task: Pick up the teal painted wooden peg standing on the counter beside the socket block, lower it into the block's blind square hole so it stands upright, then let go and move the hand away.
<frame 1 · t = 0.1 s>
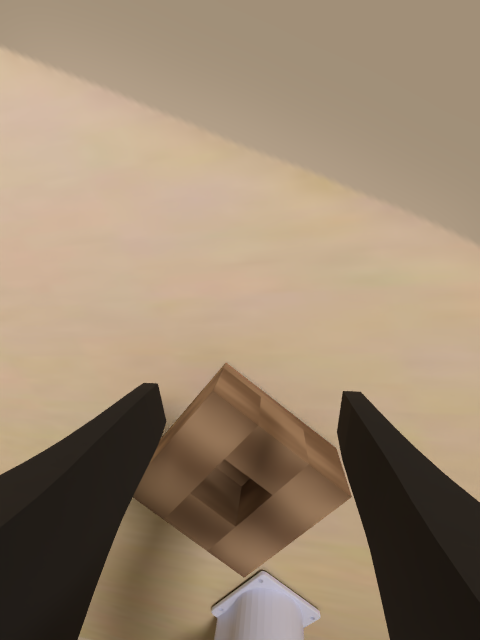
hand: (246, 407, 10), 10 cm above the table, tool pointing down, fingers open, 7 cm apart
socket block: (238, 448, 23), on the table
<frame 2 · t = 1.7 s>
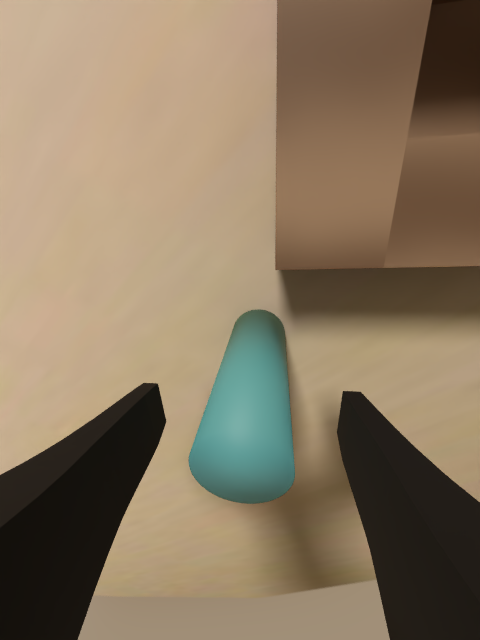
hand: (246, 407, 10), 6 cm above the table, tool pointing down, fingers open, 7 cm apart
peg: (258, 333, 16), on the table
socket block: (425, 96, 10), on the table
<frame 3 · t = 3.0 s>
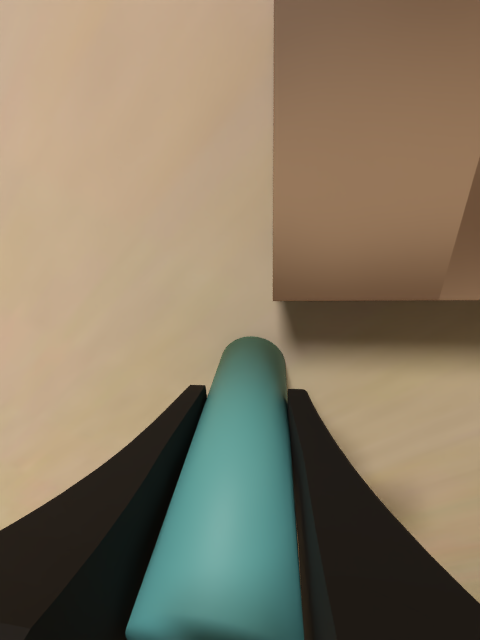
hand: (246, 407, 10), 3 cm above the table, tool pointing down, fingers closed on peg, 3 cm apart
peg: (252, 365, 13), on the table, touching gripper
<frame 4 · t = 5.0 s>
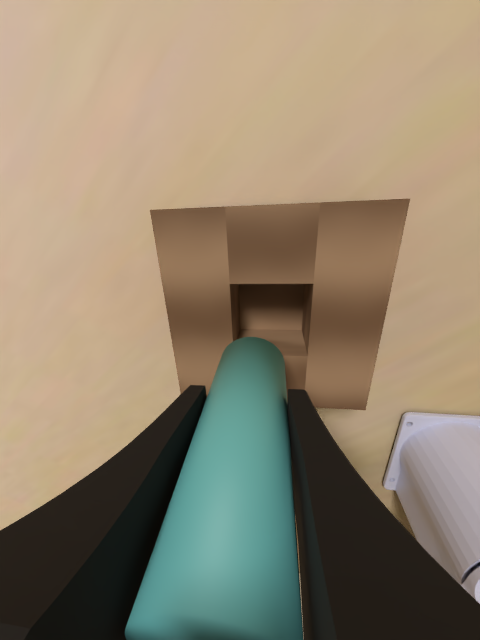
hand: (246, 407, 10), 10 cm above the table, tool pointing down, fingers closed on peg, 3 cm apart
peg: (252, 365, 13), point 7 cm above the table, touching gripper
socket block: (271, 296, 18), on the table
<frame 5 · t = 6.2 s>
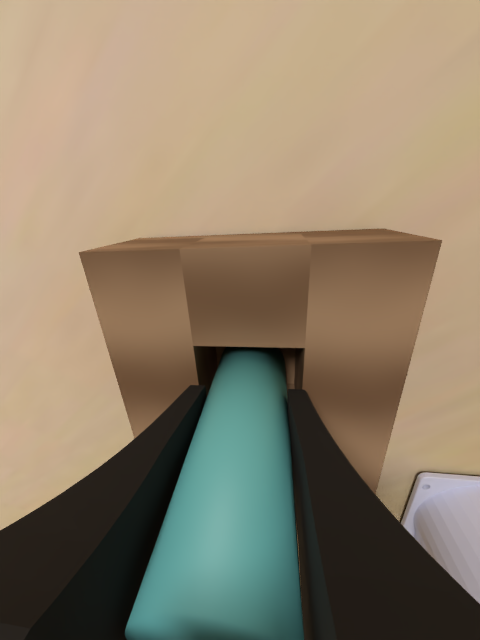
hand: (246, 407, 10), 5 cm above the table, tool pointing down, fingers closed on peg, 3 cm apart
peg: (252, 364, 13), point 3 cm above the table, touching gripper
socket block: (256, 341, 15), on the table
when the fingers open (5 cm above the table, at t = 7.0 s): peg drops 1 cm, resting on socket block.
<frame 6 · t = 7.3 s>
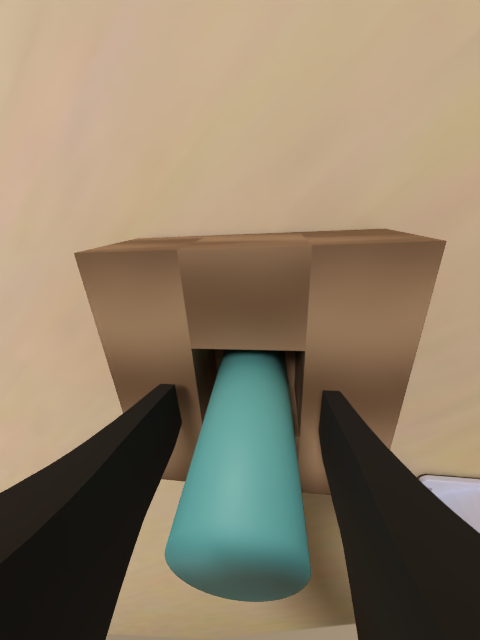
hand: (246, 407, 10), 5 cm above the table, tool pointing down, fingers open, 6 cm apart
peg: (254, 351, 14), point 1 cm above the table, touching socket block
socket block: (255, 342, 15), on the table
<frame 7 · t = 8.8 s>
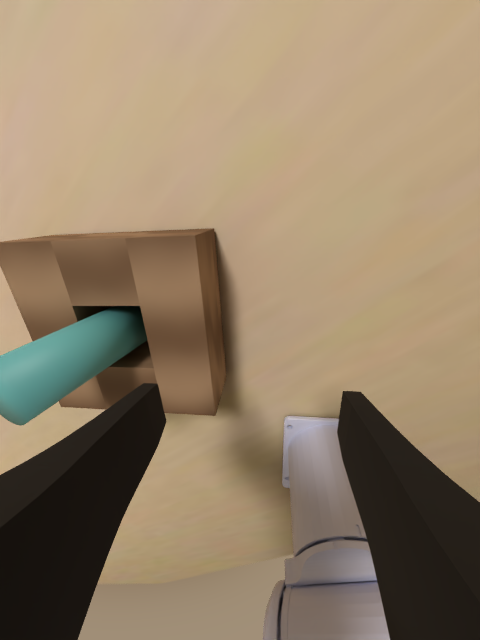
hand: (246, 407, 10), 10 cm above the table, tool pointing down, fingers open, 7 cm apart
peg: (141, 318, 19), point 1 cm above the table, tilted 14°, touching socket block
socket block: (146, 311, 20), on the table
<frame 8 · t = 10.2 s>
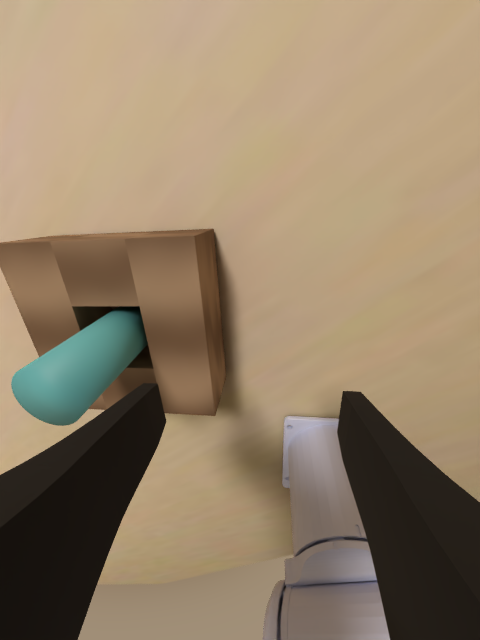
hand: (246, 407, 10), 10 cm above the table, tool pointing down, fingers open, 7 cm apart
peg: (144, 316, 19), point 1 cm above the table, touching socket block
socket block: (146, 311, 20), on the table
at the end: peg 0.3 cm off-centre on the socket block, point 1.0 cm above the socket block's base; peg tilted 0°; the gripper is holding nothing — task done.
